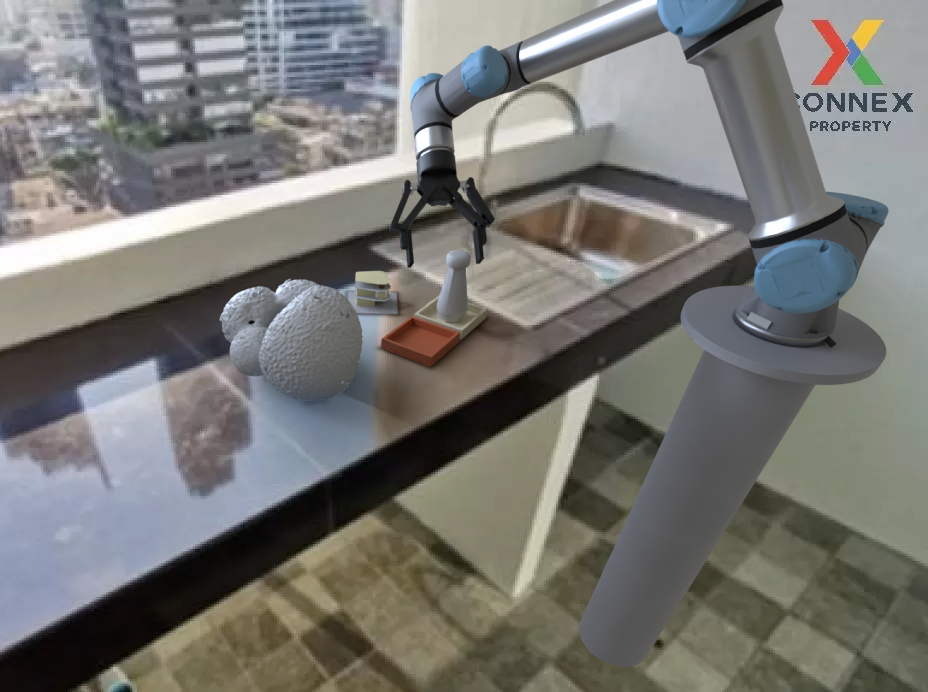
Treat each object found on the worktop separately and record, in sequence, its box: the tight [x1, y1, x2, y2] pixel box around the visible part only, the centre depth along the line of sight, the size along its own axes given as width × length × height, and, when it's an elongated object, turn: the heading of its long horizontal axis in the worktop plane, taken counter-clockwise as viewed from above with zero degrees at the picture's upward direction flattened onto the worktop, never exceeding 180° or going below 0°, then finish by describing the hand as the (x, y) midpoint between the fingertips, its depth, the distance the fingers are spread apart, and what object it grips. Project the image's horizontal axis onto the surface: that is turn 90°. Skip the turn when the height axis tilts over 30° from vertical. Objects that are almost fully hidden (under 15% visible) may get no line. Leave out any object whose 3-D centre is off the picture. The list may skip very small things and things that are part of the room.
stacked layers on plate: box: [347, 270, 399, 315], centre depth 120 cm, size 10×9×6 cm
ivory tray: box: [413, 294, 489, 341], centre depth 115 cm, size 10×10×2 cm
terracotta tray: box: [380, 315, 460, 368], centre depth 108 cm, size 10×10×2 cm
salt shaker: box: [437, 249, 472, 323], centre depth 111 cm, size 6×6×13 cm
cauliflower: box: [219, 278, 363, 402], centre depth 96 cm, size 20×25×22 cm
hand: (445, 263), depth 116 cm, fingers open, 13 cm apart
